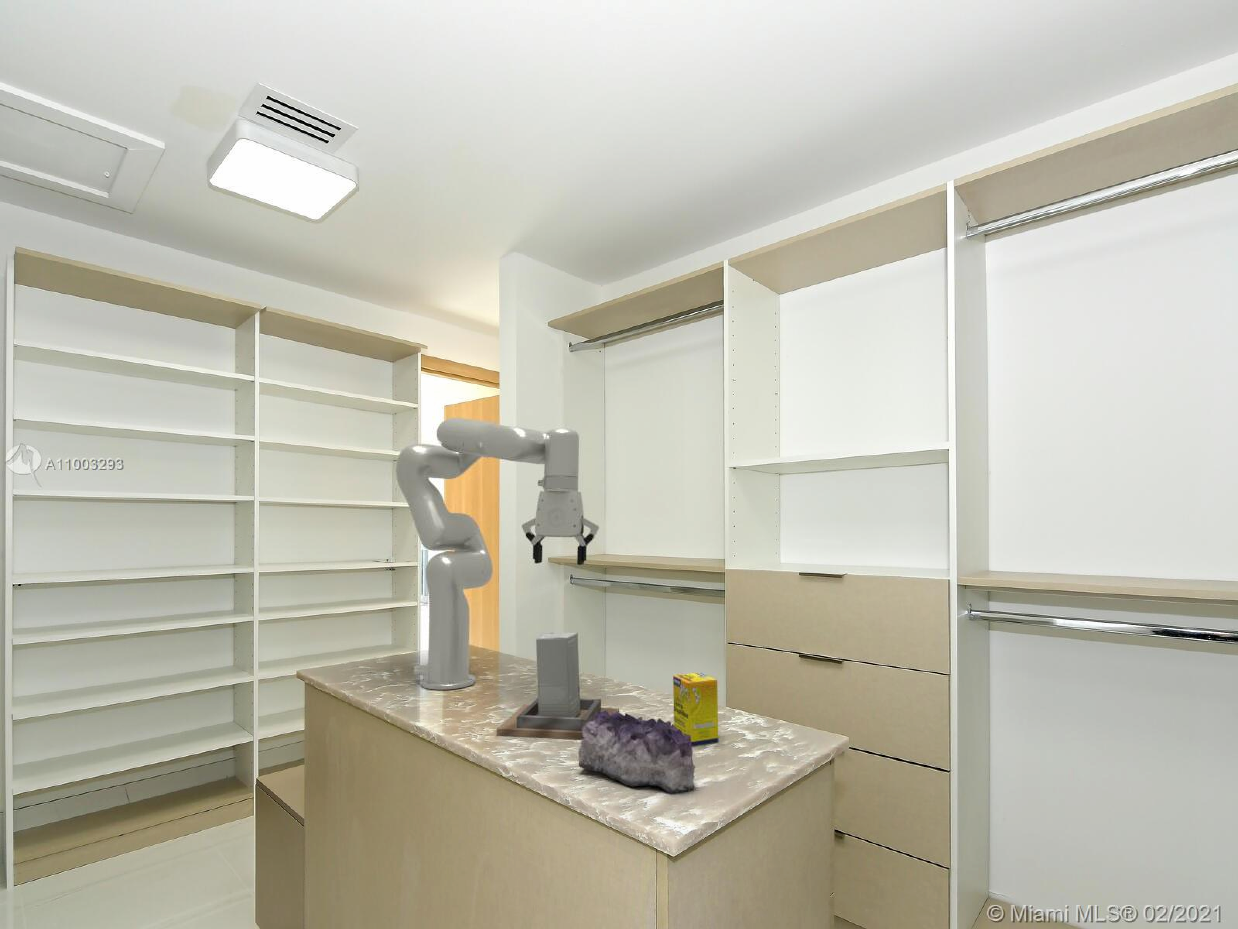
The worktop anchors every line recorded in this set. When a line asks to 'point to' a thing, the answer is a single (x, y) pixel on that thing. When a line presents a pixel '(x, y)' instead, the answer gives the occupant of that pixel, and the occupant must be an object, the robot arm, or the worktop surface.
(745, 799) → the worktop surface
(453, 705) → the worktop surface
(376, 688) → the worktop surface
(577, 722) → the board
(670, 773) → the geode
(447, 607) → the robot arm
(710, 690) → the supplement box
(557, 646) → the skincare box
